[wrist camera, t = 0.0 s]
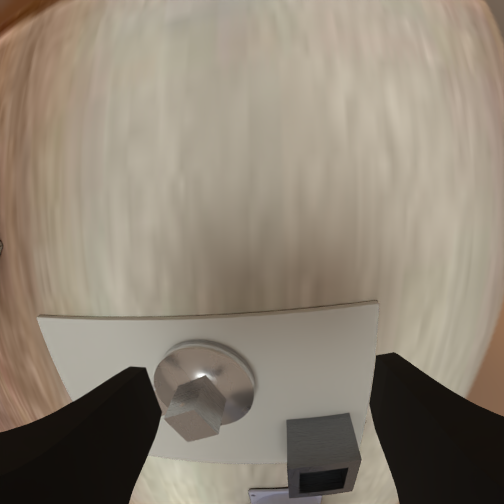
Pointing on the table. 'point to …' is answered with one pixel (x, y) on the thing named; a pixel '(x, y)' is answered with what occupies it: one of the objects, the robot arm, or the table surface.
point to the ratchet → (203, 387)
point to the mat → (253, 351)
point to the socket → (321, 455)
